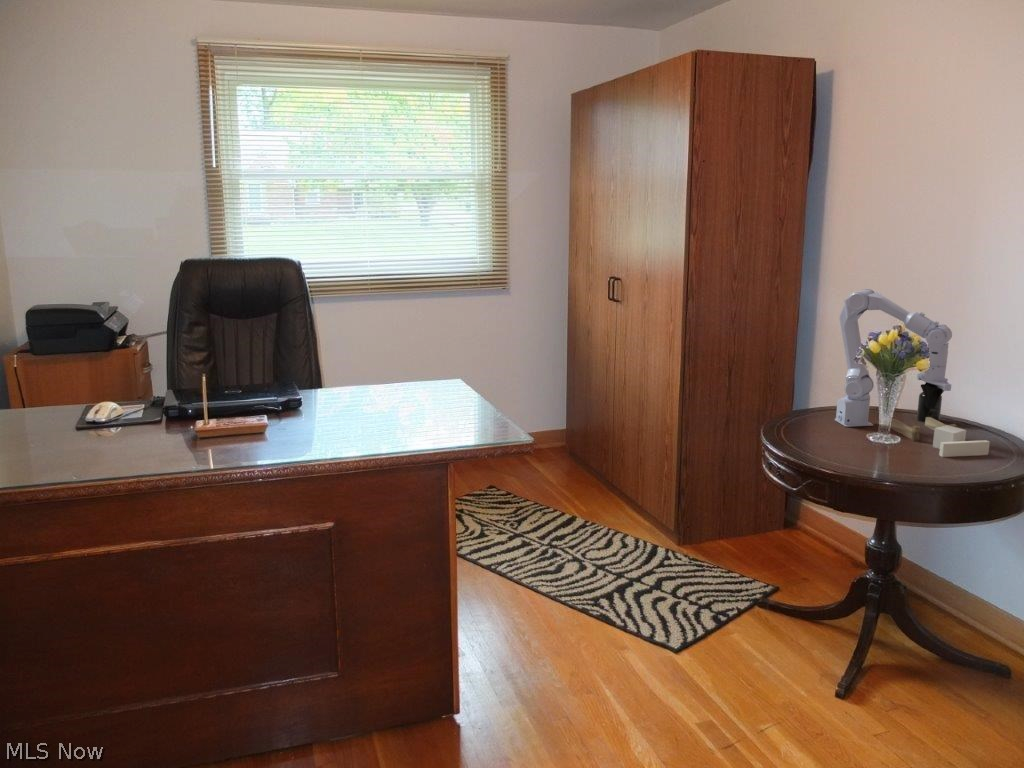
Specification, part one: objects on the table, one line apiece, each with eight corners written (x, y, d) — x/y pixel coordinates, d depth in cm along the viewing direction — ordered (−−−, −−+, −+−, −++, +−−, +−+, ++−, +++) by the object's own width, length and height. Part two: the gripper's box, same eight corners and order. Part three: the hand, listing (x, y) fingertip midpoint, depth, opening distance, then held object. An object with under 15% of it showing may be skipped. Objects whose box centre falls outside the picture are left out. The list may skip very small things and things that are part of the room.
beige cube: (951, 452, 233) (953, 433, 232) (932, 447, 238) (934, 428, 237) (964, 449, 236) (966, 429, 234) (945, 443, 241) (947, 424, 239)
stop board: (942, 456, 229) (943, 443, 228) (939, 455, 231) (940, 442, 230) (988, 454, 230) (989, 441, 229) (984, 453, 232) (986, 440, 231)
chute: (913, 440, 244) (915, 427, 243) (889, 427, 257) (890, 414, 256) (955, 439, 245) (957, 425, 244) (929, 425, 258) (930, 412, 257)
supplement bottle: (940, 419, 265) (944, 384, 262) (938, 424, 260) (942, 389, 257) (917, 416, 269) (921, 382, 266) (915, 421, 263) (919, 386, 260)
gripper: (963, 369, 236) (957, 413, 239) (934, 359, 250) (929, 400, 253) (940, 370, 235) (935, 414, 238) (912, 360, 249) (908, 401, 252)
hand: (930, 407), depth 246 cm, fingers closed
